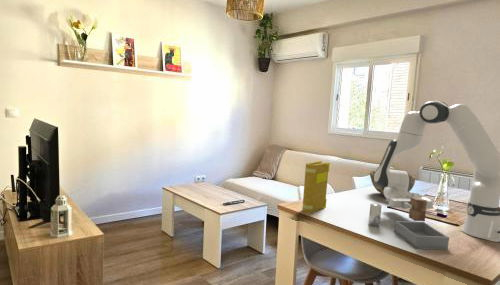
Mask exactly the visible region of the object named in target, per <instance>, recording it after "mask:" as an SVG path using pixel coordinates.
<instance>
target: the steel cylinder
mask: <svg viewBox="0 0 500 285" xmlns="http://www.w3.org/2000/svg"><path fill="white" fill-rule="evenodd" d="M368 215H369V216H368V226H369V227H371V226H372V228H380V226H381V225H380V224H381V215H382V205H381V204H379V203H370V204H369V214H368Z"/></svg>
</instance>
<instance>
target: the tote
mask: <svg viewBox="0 0 500 285" xmlns="http://www.w3.org/2000/svg"><path fill="white" fill-rule="evenodd" d="M393 233H395V234H396V235H397V236H399V237H400V238H402V239H403V240H404V241H405V242H406V243H407V244H409V245H410V246H412V247H413V248H414V249H422V250H424V249H425V250H426V249H427V250H449V242H450V237H449V236H447V235H446V234H444V233H443V232H441V231H440V230H437V229H435V227H433V226H431V225H430V224H428V223H426V222H425V221H403V220H399V221H398V220H395V221H394V228H393Z"/></svg>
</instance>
